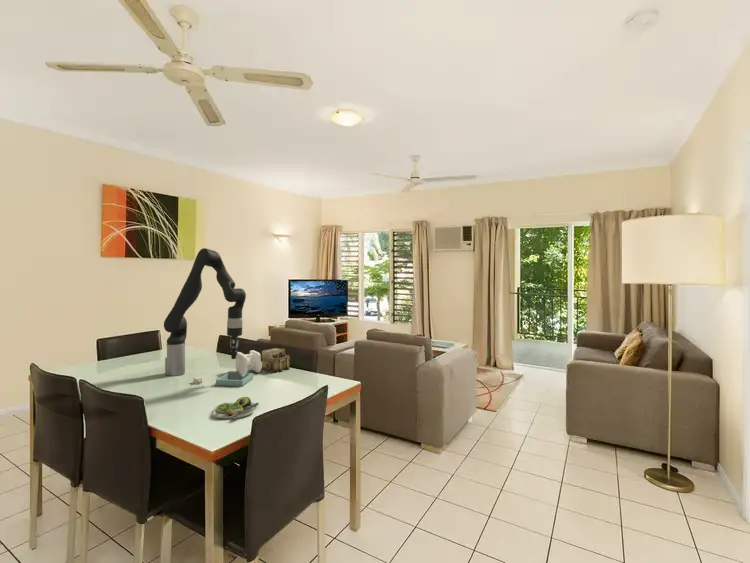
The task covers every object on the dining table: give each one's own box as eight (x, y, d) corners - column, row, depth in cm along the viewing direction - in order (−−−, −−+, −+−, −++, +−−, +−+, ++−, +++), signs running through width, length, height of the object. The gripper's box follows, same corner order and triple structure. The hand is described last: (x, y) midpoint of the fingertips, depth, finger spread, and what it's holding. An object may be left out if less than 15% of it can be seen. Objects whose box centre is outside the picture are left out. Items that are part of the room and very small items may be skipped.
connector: (227, 382, 203) (227, 372, 203) (228, 380, 206) (228, 371, 206) (244, 381, 205) (244, 371, 205) (245, 379, 208) (245, 370, 208)
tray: (215, 385, 199) (215, 379, 199) (227, 378, 213) (227, 372, 213) (242, 386, 198) (242, 380, 198) (252, 378, 212) (252, 373, 212)
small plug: (193, 382, 204) (193, 377, 204) (198, 381, 206) (198, 376, 206) (198, 384, 201) (198, 379, 201) (203, 383, 203) (203, 378, 203)
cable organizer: (261, 374, 223) (261, 353, 222) (243, 376, 216) (243, 356, 216) (252, 368, 235) (252, 349, 234) (234, 371, 228) (234, 351, 228)
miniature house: (256, 370, 231) (256, 351, 231) (274, 365, 243) (274, 347, 243) (275, 374, 223) (275, 354, 223) (292, 368, 235) (292, 350, 235)
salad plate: (255, 421, 154) (255, 409, 153) (207, 424, 150) (207, 412, 150) (259, 404, 173) (259, 394, 172) (217, 407, 169) (217, 396, 169)
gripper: (241, 328, 199) (240, 359, 199) (243, 324, 212) (242, 354, 213) (225, 328, 197) (225, 360, 197) (228, 324, 210) (227, 354, 211)
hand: (234, 357), depth 205 cm, fingers open, 8 cm apart
